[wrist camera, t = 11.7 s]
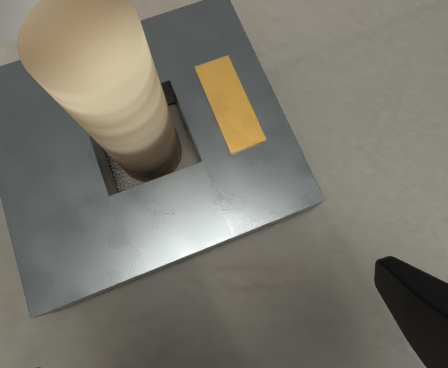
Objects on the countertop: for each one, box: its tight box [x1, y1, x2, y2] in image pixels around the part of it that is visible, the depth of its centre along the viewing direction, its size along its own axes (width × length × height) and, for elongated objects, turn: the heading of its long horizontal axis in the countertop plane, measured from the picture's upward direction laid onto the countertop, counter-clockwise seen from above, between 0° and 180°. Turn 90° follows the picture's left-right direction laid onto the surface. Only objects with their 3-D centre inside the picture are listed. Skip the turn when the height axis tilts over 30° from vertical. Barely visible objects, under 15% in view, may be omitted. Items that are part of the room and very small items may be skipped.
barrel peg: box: [17, 0, 181, 182], centre depth 18 cm, size 4×4×12 cm
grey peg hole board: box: [0, 0, 325, 318], centre depth 23 cm, size 16×18×3 cm
